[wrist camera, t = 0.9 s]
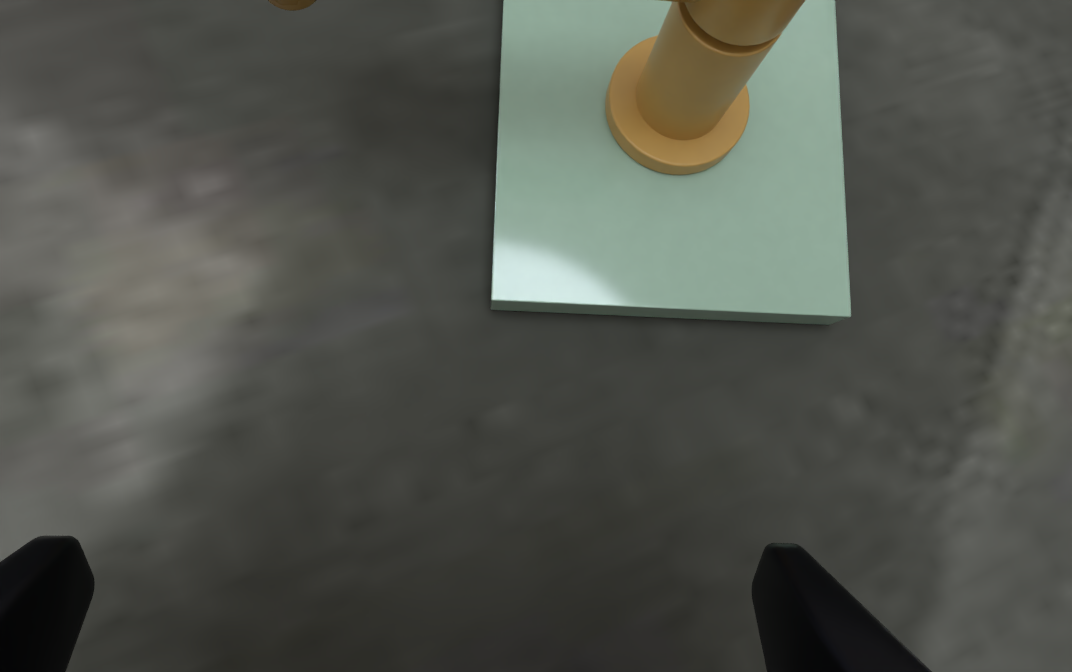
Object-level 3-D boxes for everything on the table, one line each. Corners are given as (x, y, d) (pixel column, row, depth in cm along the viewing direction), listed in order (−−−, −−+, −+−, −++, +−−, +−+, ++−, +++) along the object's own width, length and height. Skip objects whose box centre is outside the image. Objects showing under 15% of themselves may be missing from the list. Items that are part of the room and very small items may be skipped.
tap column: (768, 132, 24) (856, 33, 18) (657, 201, 23) (713, 120, 18) (689, 23, 24) (752, -106, 19) (577, 87, 24) (607, -27, 18)
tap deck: (829, 325, 25) (851, 316, 23) (490, 310, 24) (491, 300, 22) (813, -28, 27) (832, -56, 25) (505, -54, 26) (506, -85, 25)
